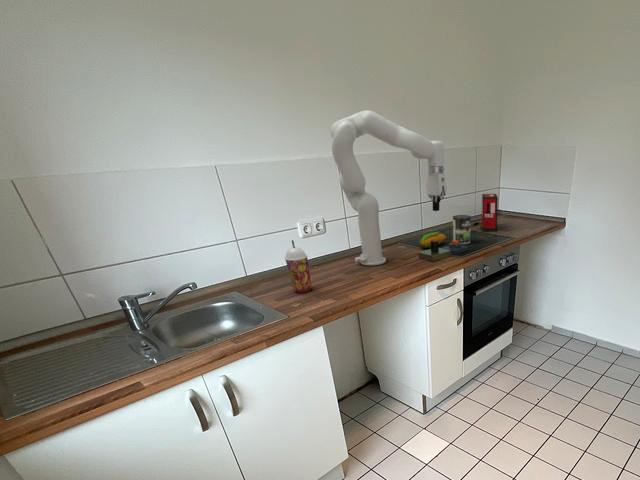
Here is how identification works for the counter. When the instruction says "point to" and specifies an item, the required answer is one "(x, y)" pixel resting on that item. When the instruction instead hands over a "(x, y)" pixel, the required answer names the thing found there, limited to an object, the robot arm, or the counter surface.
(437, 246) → the knob
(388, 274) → the counter surface
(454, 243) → the button
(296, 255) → the smoothie
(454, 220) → the coffee can
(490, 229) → the cleaning product box
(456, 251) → the button box
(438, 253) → the panel
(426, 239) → the corn
